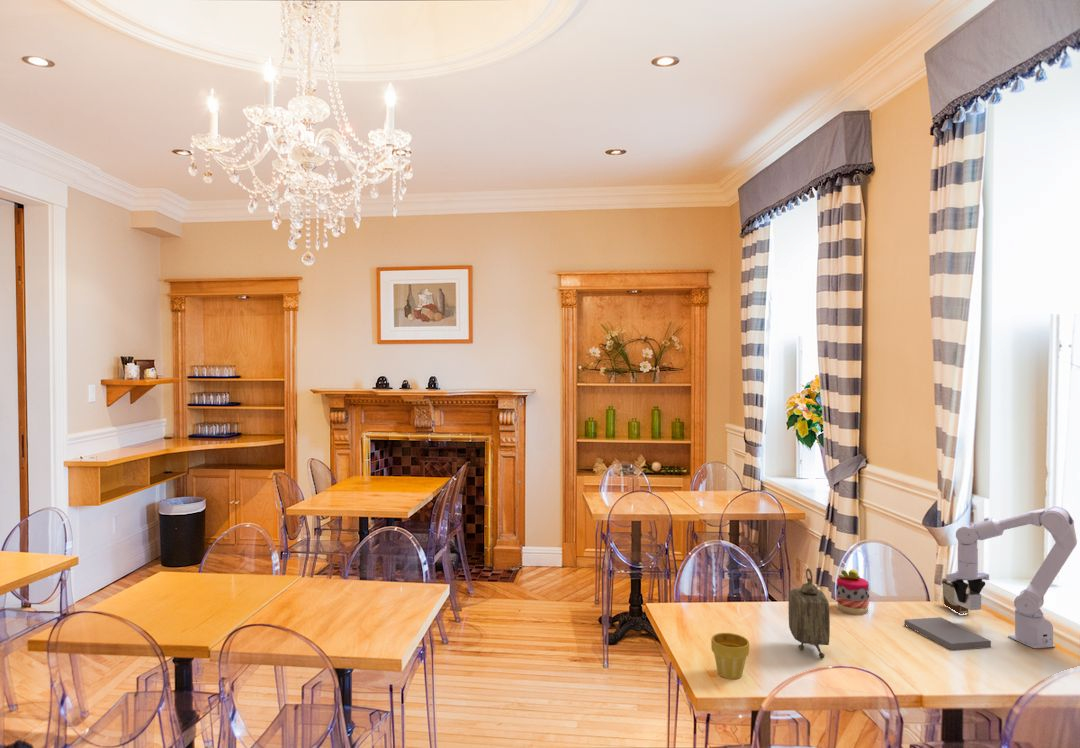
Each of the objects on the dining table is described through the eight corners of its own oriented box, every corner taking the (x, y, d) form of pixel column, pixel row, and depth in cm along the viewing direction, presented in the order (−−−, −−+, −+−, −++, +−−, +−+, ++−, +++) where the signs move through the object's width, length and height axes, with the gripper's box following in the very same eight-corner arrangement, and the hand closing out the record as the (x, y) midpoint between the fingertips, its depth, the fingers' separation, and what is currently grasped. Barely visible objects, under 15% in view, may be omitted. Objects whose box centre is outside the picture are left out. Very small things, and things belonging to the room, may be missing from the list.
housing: (981, 609, 214) (981, 594, 214) (970, 610, 214) (970, 595, 214) (962, 601, 222) (962, 587, 222) (952, 602, 221) (952, 587, 221)
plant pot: (755, 682, 177) (755, 646, 177) (718, 683, 176) (718, 647, 176) (740, 665, 187) (740, 631, 187) (706, 666, 186) (706, 632, 186)
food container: (980, 617, 225) (980, 589, 226) (962, 617, 226) (962, 588, 226) (958, 605, 238) (958, 578, 238) (941, 605, 238) (941, 577, 238)
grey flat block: (990, 647, 200) (990, 640, 200) (951, 650, 198) (951, 643, 198) (940, 623, 220) (940, 617, 220) (904, 625, 218) (904, 619, 218)
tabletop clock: (829, 661, 190) (829, 577, 190) (797, 659, 191) (797, 575, 192) (817, 642, 204) (817, 563, 204) (787, 639, 206) (787, 561, 206)
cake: (836, 603, 239) (836, 563, 239) (868, 607, 235) (868, 566, 235) (836, 612, 230) (836, 570, 230) (869, 617, 225) (869, 574, 225)
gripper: (977, 557, 222) (977, 596, 222) (939, 558, 220) (939, 598, 220) (994, 563, 215) (994, 603, 215) (955, 564, 213) (955, 605, 213)
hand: (967, 601), depth 217 cm, fingers closed on housing, 4 cm apart
